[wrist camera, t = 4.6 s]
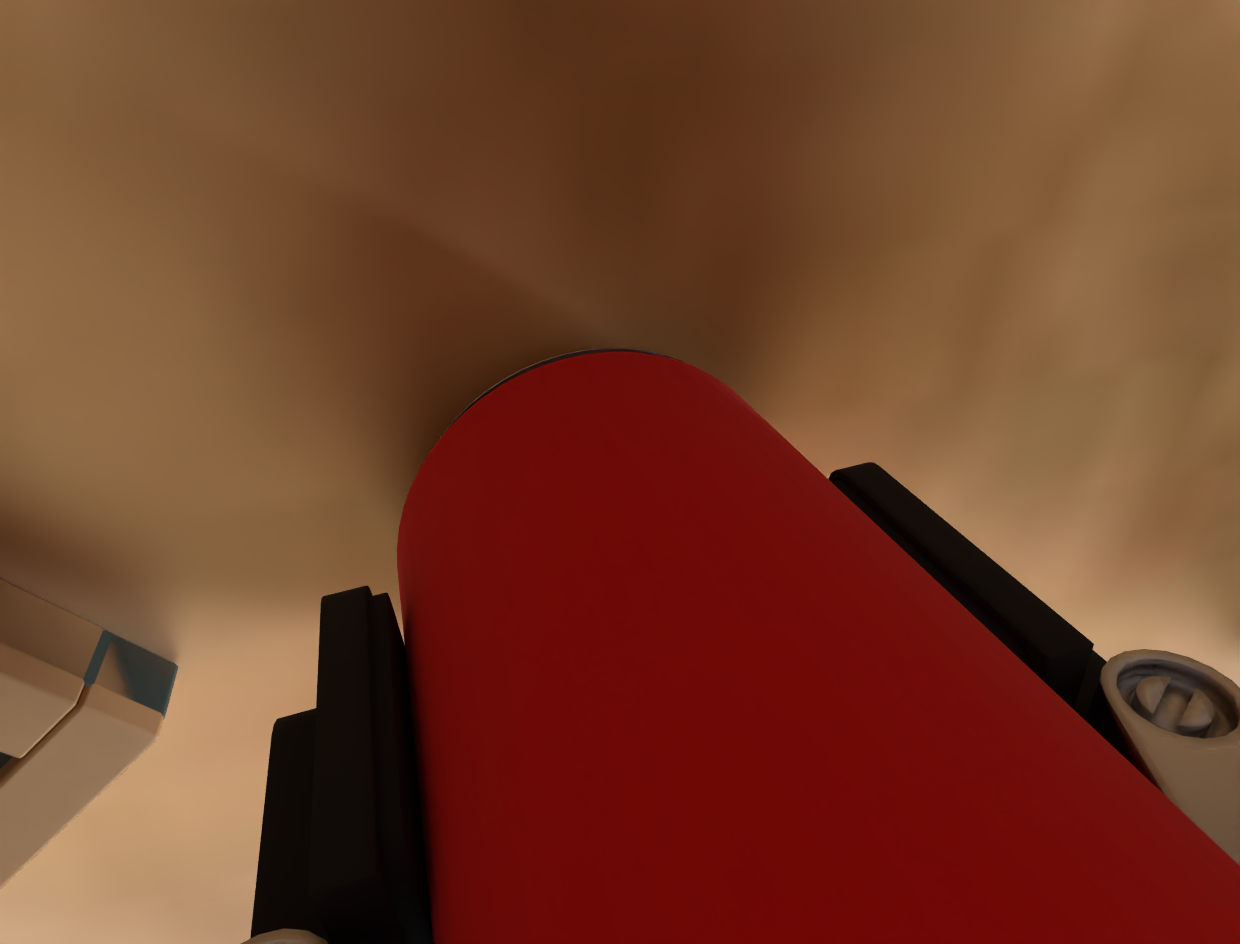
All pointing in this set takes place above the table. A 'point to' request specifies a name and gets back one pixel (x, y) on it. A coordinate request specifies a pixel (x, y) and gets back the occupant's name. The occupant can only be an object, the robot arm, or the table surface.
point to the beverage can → (738, 703)
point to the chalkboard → (66, 718)
